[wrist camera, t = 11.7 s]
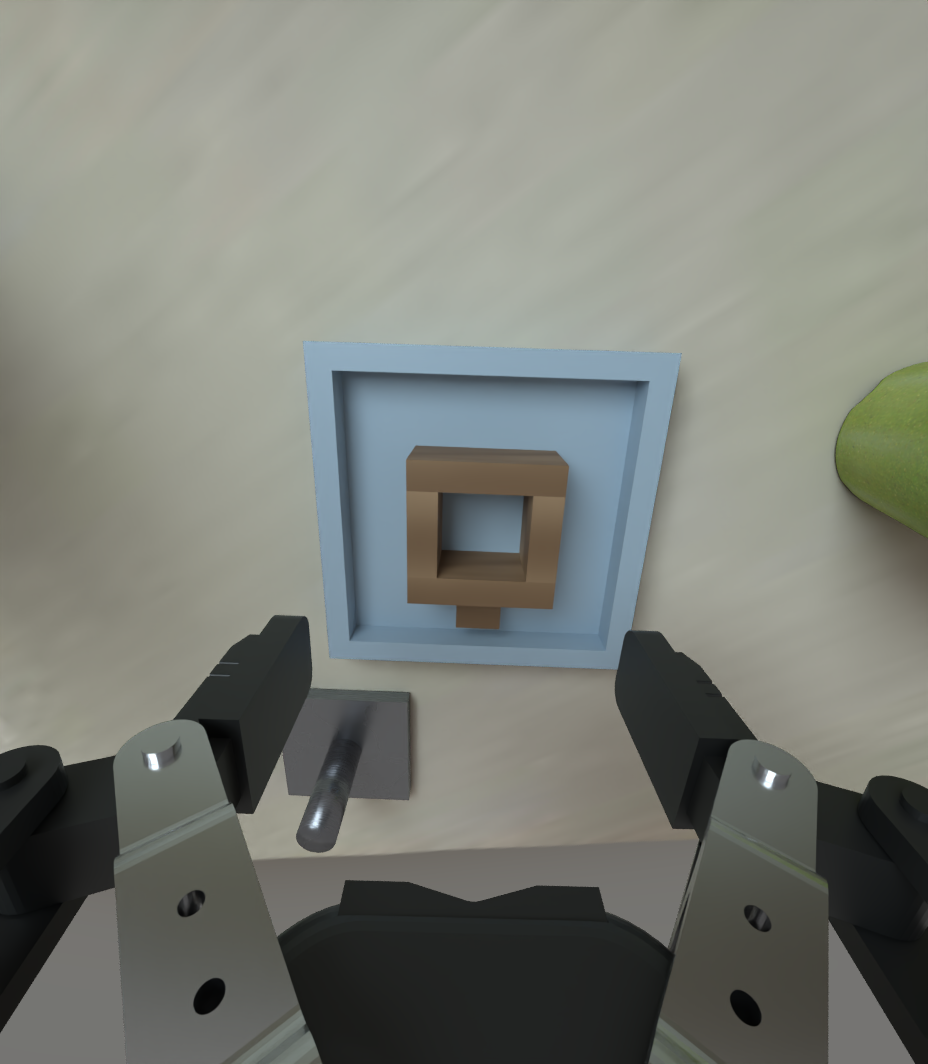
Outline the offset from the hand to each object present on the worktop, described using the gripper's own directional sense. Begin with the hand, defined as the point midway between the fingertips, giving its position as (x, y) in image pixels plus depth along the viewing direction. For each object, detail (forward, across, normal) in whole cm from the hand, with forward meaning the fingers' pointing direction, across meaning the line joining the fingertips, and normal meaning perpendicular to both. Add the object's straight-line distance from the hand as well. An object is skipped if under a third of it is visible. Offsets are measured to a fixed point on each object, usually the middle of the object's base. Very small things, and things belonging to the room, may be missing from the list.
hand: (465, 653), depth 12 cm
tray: (+10, -1, 0) cm, 11 cm away
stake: (+11, +6, +14) cm, 18 cm away
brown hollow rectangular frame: (+10, -1, 0) cm, 10 cm away
